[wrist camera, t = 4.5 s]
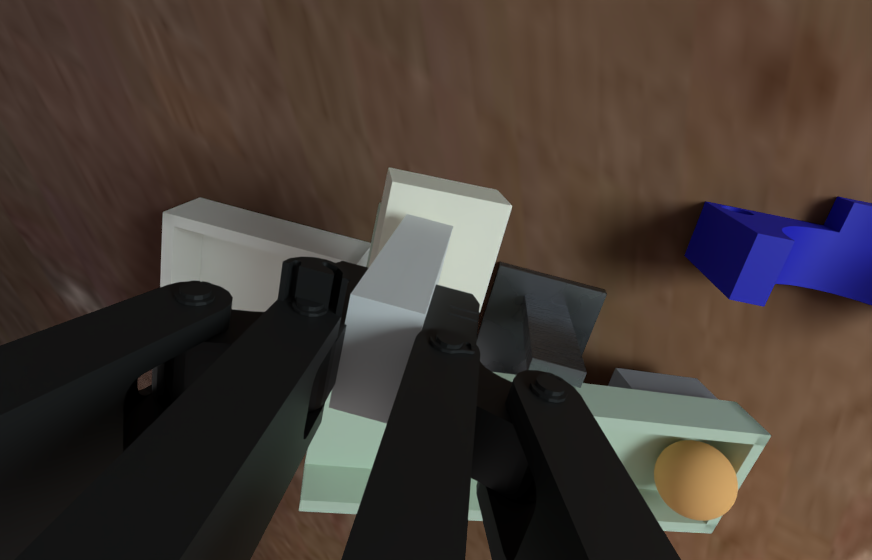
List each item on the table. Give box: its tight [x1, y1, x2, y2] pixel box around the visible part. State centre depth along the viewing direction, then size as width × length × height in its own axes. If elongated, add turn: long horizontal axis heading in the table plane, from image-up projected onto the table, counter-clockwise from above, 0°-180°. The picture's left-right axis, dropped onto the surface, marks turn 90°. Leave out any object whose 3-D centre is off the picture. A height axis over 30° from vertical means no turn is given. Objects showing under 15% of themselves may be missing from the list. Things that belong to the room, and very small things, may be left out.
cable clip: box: [684, 197, 872, 306], centre depth 24 cm, size 12×4×6 cm, turn 80°
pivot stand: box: [476, 262, 607, 388], centre depth 27 cm, size 6×11×8 cm, turn 166°
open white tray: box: [160, 198, 371, 312], centre depth 29 cm, size 10×9×4 cm
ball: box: [654, 440, 738, 521], centre depth 24 cm, size 4×4×4 cm
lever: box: [299, 168, 771, 533], centre depth 23 cm, size 20×14×5 cm
